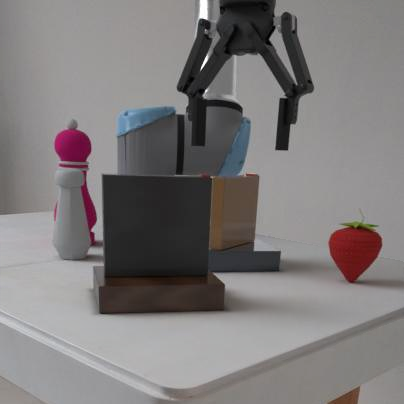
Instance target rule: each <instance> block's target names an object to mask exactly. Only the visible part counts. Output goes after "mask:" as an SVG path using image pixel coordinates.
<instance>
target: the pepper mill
mask: <svg viewBox="0 0 404 404" xmlns="http://www.w3.org/2000/svg"><path fill="white" fill-rule="evenodd" d="M78 126H79V124H78V121H77V120H76V119H74V118H70V119H68V120H67V121H66V127H67V129H63V130H61V131H59V132H58V133H57V134H56V136H55V137H54V142H53V149H54V152H55V154H56V155H57V156H58V157H59V160H58V161H57V164H58V167H57V168H58V169H57V170H59V169H64V168H70V169H79V170H81V171H82V172H83V173H84V185H83V186H81V191H82V197H83V202H84V207H85V212H86V218H87V223H88V228H89V233H90V238H91V246H92V245H94V244H95V243H96V237H95V232H93V231H92V229H94V227H95V225H96V224H97V222H98V215H97V210H96V206H95V205H94V201H93V200H92V197H91V195H90V191H89V189H88V188H89V187H88V181H87V175H88V173H87V172H88V171H89V170H90V168H89V164H90V162H89V161H87V160H88V158H89V157H90V155H91V153H92V149H93V148H92V141H91V139H90V137H89V136H88V135H87V134H86V132H84V131H82V130H80V129H78ZM57 204H58V200H57V201H56V204H55V207H54V211H53V220H54V222H55V220H56V212H57Z"/></svg>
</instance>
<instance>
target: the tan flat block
mask: <svg viewBox="0 0 404 404" xmlns="http://www.w3.org/2000/svg"><path fill="white" fill-rule="evenodd" d="M259 190H260V175H259V173H251V172H246V173H245V174H238V175H236V176H221V177H212V199H211V220H210V245H209V248H210V249H216V250H223V249H227V248H231V247H234V246H238V245H241V244H245V243H249V242H252V241H255V239H256V229H257V227H256V226H257V215H258V204H259V203H258V201H259Z"/></svg>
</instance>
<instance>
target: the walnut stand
mask: <svg viewBox="0 0 404 404" xmlns="http://www.w3.org/2000/svg"><path fill="white" fill-rule="evenodd" d="M92 278H93V279H92V281H93V282H92V283H93V293H94V296H95V301H96V305H97V309H98V313H99V314H121V313H122V314H125V313H157V312H158V313H161V312H163V313H164V312H192V311H193V312H194V311H195V312H196V311H224V309H225V295H226V294H225V293H226V284H225V283H224V282H223V281H222V280H221V279H220V278H218V276H217V275H215V274H214V272H211V271H210V270H209V269H208V275H207V276H129V277H105V275H104V265H93V266H92Z"/></svg>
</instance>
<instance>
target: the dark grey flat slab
mask: <svg viewBox="0 0 404 404" xmlns="http://www.w3.org/2000/svg"><path fill="white" fill-rule="evenodd" d="M212 182H213V177H211V175H207V174H198V176H185V175H174V176H172V175H139V174H117V173H101V206H102V207H101V208H102V209H101V211H102V214H101V215H102V249H103V250H102V252H103V253H102V254H103V255H102V257H103V266H104V275H105V277H129V276H207V275H208V262H209V241H210V224H211V203H212Z"/></svg>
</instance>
